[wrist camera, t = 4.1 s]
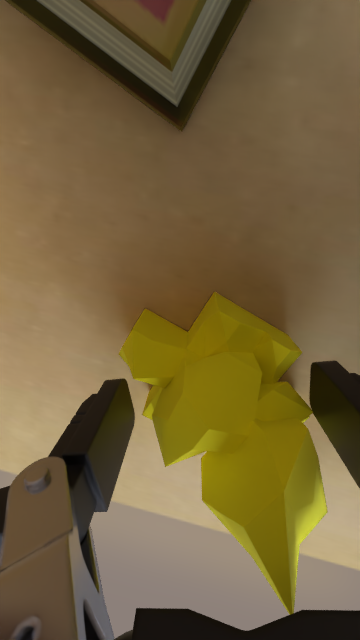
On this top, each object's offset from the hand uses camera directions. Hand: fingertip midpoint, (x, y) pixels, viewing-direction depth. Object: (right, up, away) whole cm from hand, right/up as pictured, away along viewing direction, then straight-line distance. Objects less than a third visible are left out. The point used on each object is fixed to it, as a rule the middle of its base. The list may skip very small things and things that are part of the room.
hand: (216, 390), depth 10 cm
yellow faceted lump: (0, +1, +2) cm, 2 cm away
